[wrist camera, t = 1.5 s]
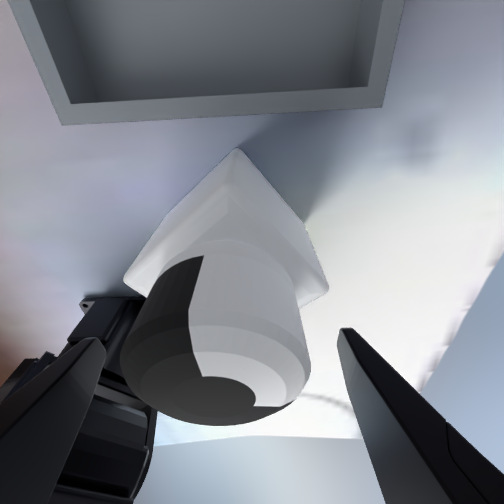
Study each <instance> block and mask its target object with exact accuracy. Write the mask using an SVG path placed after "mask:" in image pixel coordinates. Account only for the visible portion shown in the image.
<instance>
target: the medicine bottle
mask: <svg viewBox="0 0 504 504" xmlns="http://www.w3.org/2000/svg"><path fill="white" fill-rule="evenodd" d="M123 280H124V283H125V284H126V285H128V286H129V287H131V288H132V289H134V290H136V291H137V292H139V293H140V294H142V295H143V296H145V297H146V300H145V302H144V304H143V306H142V308H141V310H140V312H139V314H138V316H137V318H136V320H135V322H134V324H133V326H132V328H131V330H130V332H129V334H128V336H127V338H126V340H125V342H124V344H123V346H122V349H121V352H120V365H121V369H122V372H123V375H124V378H125V380H126V383H127V385H128V386H129V388H130V389H131V391H132V392H133V393H134V394H135V395H136V396H137V397H138V398H139V399H141V400H142V401H143V402H145V403H146V404H148V405H149V406H151V407H153V408H154V409H156V410H158V411H160V412H161V413H163V414H165V415H167V416H170V417H172V418H175V419H178V420H181V421H184V422H189V423H194V424H199V425H209V426H229V425H238V424H244V423H249V422H253V421H256V420H259V419H262V418H264V417H266V416H269V415H271V414H274V413H276V412H278V411H280V410H282V409H284V408H285V407H287V406H288V405H290V404H291V403H292V402H293V401H294V400H295V399H296V398H297V397H298V396H299V394H300V393H301V391H302V390H303V388H304V386H305V384H306V382H307V381H308V379H309V375H310V372H311V362H310V358H309V353H308V349H307V344H306V340H305V335H304V331H303V326H302V321H301V317H300V312H299V308H301V307H303V306H305V305H306V304H308V303H310V302H312V301H313V300H315V299H317V298H319V297H320V296H322V295H324V294H326V293H327V292H328V290H329V285H328V283H327V280H326V278H325V275H324V273H323V270H322V268H321V265H320V263H319V260H318V258H317V255H316V253H315V250H314V248H313V245H312V243H311V240H310V238H309V235H308V233H307V231H306V228H305V226H304V223H303V222H302V221H301V220H300V218H299V217H298V216H297V215H296V214H295V213H294V211H293V210H292V209H291V208H290V207H289V205H288V204H287V203H286V202H285V201H284V200H283V198H282V197H281V196H280V195H279V194H278V192H277V191H276V190H275V189H274V188H273V187H272V185H271V184H270V183H269V182H268V181H267V179H266V178H265V177H264V176H263V175H262V174H261V172H260V171H259V170H258V169H257V168H256V166H255V165H254V164H253V163H252V162H251V161H250V159H249V158H248V157H247V156H246V155H245V153H244V152H243V151H242V150H241V149H239V148H235V149H233V150H232V151H231V152H230V153H229V154H228V155H227V156H226V157H225V158H224V159H223V160H222V161H221V162H220V163H219V164H218V165H217V166H216V167H215V168H214V169H213V170H212V171H211V172H210V173H209V174H208V175H207V176H206V177H204V178H203V179H202V180H201V181H200V182H199V183H198V184H197V185H196V186H195V187H194V188H193V189H192V190H191V191H190V192H189V193H188V194H187V195H186V196H185V197H184V198H183V199H182V200H181V201H180V202H179V203H178V204H177V205H176V206H175V207H174V208H173V209H172V210H171V211H170V212H169V213H168V214H167V215H166V216H165V217H164V219H163V220H162V222H161V223H160V224H159V226H158V227H157V229H156V230H155V232H154V233H153V235H152V236H151V237H150V239H149V240H148V242H147V243H146V245H145V246H144V247H143V249H142V250H141V252H140V253H139V255H138V256H137V258H136V259H135V260H134V262H133V263H132V265H131V266H130V268H129V269H128V271H127V272H126V273H125V275H124V278H123Z"/></svg>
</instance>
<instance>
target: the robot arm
mask: <svg viewBox="0 0 504 504" xmlns="http://www.w3.org/2000/svg"><path fill="white" fill-rule="evenodd" d="M145 300H146V297H145V296H137V297H111V298H86V299H83V300H82V301H81V302H80V304H79V305H80V307H81V309H82V310H83V312H84V314H85V316H84V317H83V318H82V320H81V321H80V322H79V324H78V325H77V326H76V328H75V329H74V330H73V332H72V333H71V334H70V336H69V337H68V339H67V341H68V343H67V345H66V346H65V348H64V349H63V350H62V352H61V353H60V354H59V356H58V357H56V356H54V355H55V354H52V353H50V352H47V351H46V352H45V354H44V355H43V356H42V357H41V358H40V359H38V358H36V359H24V360H23V362H22V363H21V364H20V365H19V366H18V367H17V369H16V370H15V371H14V372H13V373H12V375H11V376H10V377H9V378H8V379H7V380H6V382H5V383H4V384H3V385H2V386H1V387H0V504H133V501H134V499H135V497H136V496H137V494H138V492H139V490H140V488H141V487H142V484H143V482H144V480H145V478H146V474H147V472H148V469H149V466H150V462H151V458H152V452H153V445H154V436H155V428H156V420H157V412H158V410H156V409H154V408H153V407H151V406H149V405H148V404H146V403H145V402H143V401H142V400H141V399H139V398H138V397H137V396H136V395H135V394H134V393H133V392H132V391H131V389H130V388H129V386H128V385H127V383H126V380H125V378H124V375H123V372H122V369H121V365H120V352H121V349H122V346H123V344H124V342H125V340H126V338H127V336H128V334H129V332H130V330H131V328H132V326H133V324H134V322H135V320H136V318H137V316H138V314H139V312H140V310H141V308H142V306H143V304H144V302H145ZM337 348H338V353H339V357H340V362H341V366H342V370H343V375H344V379H345V383H346V387H347V391H348V394H349V398H350V401H351V404H352V406H353V409H354V412H355V415H356V418H357V421H358V424H359V427H360V430H361V433H362V436H363V439H364V442H365V444H366V447H367V450H368V453H369V456H370V459H371V462H372V465H373V468H374V471H375V474H376V476H377V480H378V482H379V485H380V488H381V491H382V494H383V497H384V500H385V503H386V504H504V474H503V473H502V472H501V471H500V470H498V469H497V468H496V467H495V466H494V465H493V464H492V463H491V462H489V461H488V460H487V459H486V458H485V457H484V456H483V455H482V454H481V453H479V451H478V450H477V449H475V448H474V447H473V446H472V445H471V444H470V443H469V442H468V441H467V440H466V439H465V438H464V437H463V436H462V435H461V434H460V433H459V432H458V431H457V430H456V429H455V428H454V427H453V426H451V424H450V423H448V422H446V420H445V419H444V418H443V417H442V416H441V415H440V414H439V413H438V412H437V411H436V410H435V409H434V408H433V407H432V406H431V405H430V404H429V403H428V402H427V401H426V400H425V399H424V398H423V397H422V396H421V395H420V394H419V393H418V392H417V391H416V390H415V389H414V388H413V387H412V386H411V385H410V384H409V383H408V382H407V381H406V380H405V379H404V378H403V377H402V376H401V375H400V374H399V373H398V372H397V371H396V370H395V369H394V368H393V367H392V366H391V365H390V364H389V363H388V362H387V361H386V360H385V359H384V358H383V357H382V356H381V355H380V354H379V353H378V352H377V351H375V350H374V349H373V348H372V347H371V346H370V345H369V344H368V343H367V342H366V341H365V340H364V339H363V338H362V337H361V336H360V335H359V334H358V333H357V332H356V331H355V330H354V329H353V328H341V329H340V331H339V336H338V340H337Z"/></svg>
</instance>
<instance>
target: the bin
mask: <svg viewBox="0 0 504 504" xmlns="http://www.w3.org/2000/svg"><path fill="white" fill-rule="evenodd" d="M404 2H405V0H8V3H9V5H10V7H11V9H12V12H13V14H14V16H15V19H16V21H17V23H18V26H19V28H20V30H21V32H22V35H23V37H24V39H25V42H26V44H27V46H28V49H29V51H30V53H31V56H32V58H33V60H34V62H35V65H36V67H37V69H38V72H39V74H40V76H41V79H42V81H43V83H44V86H45V88H46V90H47V92H48V95H49V97H50V99H51V102H52V104H53V106H54V109H55V111H56V113H57V115H58V118H59V120H60V122H61V125H80V124H97V123H115V122H133V121H150V120H168V119H186V118H203V117H221V116H239V115H257V114H274V113H292V112H310V111H327V110H345V109H363V108H380V107H382V104H383V100H384V95H385V90H386V86H387V81H388V76H389V72H390V67H391V62H392V58H393V53H394V48H395V44H396V39H397V34H398V30H399V25H400V20H401V16H402V11H403V6H404Z"/></svg>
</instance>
